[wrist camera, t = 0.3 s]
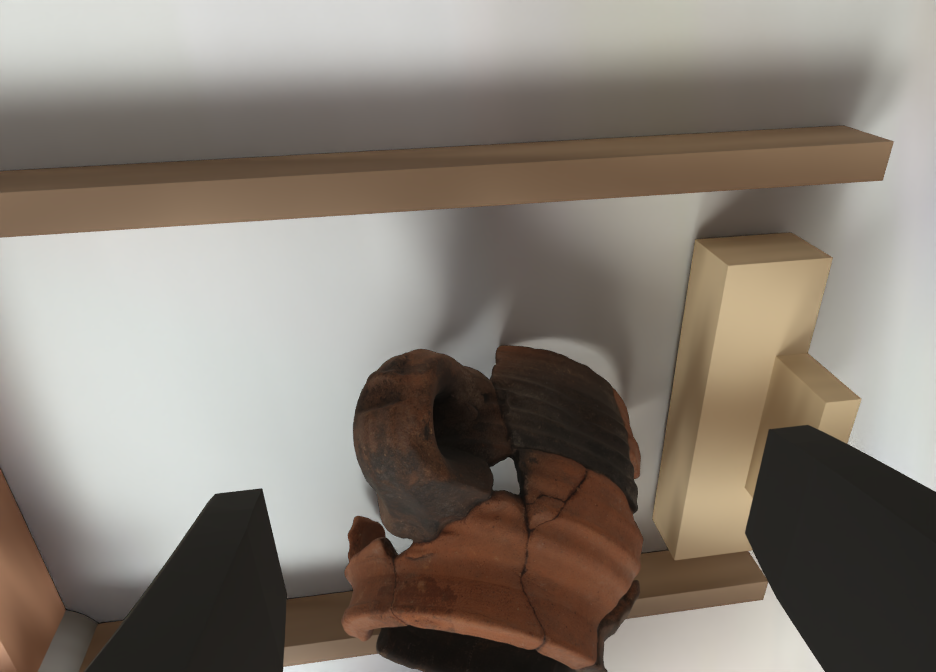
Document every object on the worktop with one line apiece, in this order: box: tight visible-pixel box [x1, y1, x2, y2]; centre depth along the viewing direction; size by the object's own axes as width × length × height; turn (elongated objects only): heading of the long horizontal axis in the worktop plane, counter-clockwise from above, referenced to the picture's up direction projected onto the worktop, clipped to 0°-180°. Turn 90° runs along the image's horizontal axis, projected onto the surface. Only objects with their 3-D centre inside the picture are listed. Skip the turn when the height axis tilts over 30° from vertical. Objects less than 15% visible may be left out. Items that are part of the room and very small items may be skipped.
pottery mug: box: [341, 345, 643, 672], centre depth 20 cm, size 12×9×8 cm
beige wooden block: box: [652, 233, 861, 560], centre depth 20 cm, size 11×3×4 cm, turn 1°
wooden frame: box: [0, 126, 894, 672], centre depth 18 cm, size 18×27×8 cm, turn 91°
